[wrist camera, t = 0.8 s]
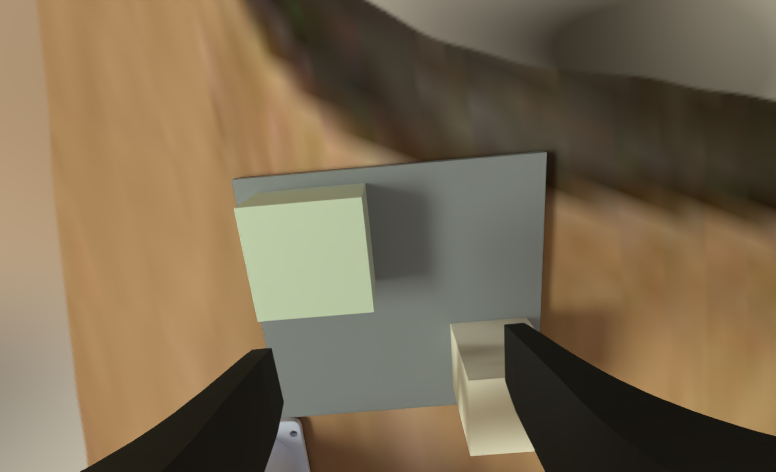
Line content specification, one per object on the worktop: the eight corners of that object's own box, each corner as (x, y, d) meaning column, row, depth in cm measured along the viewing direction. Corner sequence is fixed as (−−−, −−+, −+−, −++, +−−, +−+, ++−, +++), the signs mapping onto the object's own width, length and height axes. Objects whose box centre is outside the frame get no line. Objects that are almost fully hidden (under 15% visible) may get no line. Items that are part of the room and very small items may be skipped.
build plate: (533, 391, 25) (537, 397, 24) (283, 411, 25) (281, 418, 24) (542, 151, 20) (546, 152, 20) (235, 178, 20) (231, 180, 20)
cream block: (524, 381, 24) (560, 448, 19) (452, 387, 24) (470, 456, 19) (526, 317, 22) (565, 372, 18) (450, 323, 22) (468, 380, 18)
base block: (375, 281, 22) (373, 312, 18) (277, 289, 22) (257, 321, 18) (365, 183, 20) (361, 197, 17) (258, 192, 20) (233, 208, 17)
